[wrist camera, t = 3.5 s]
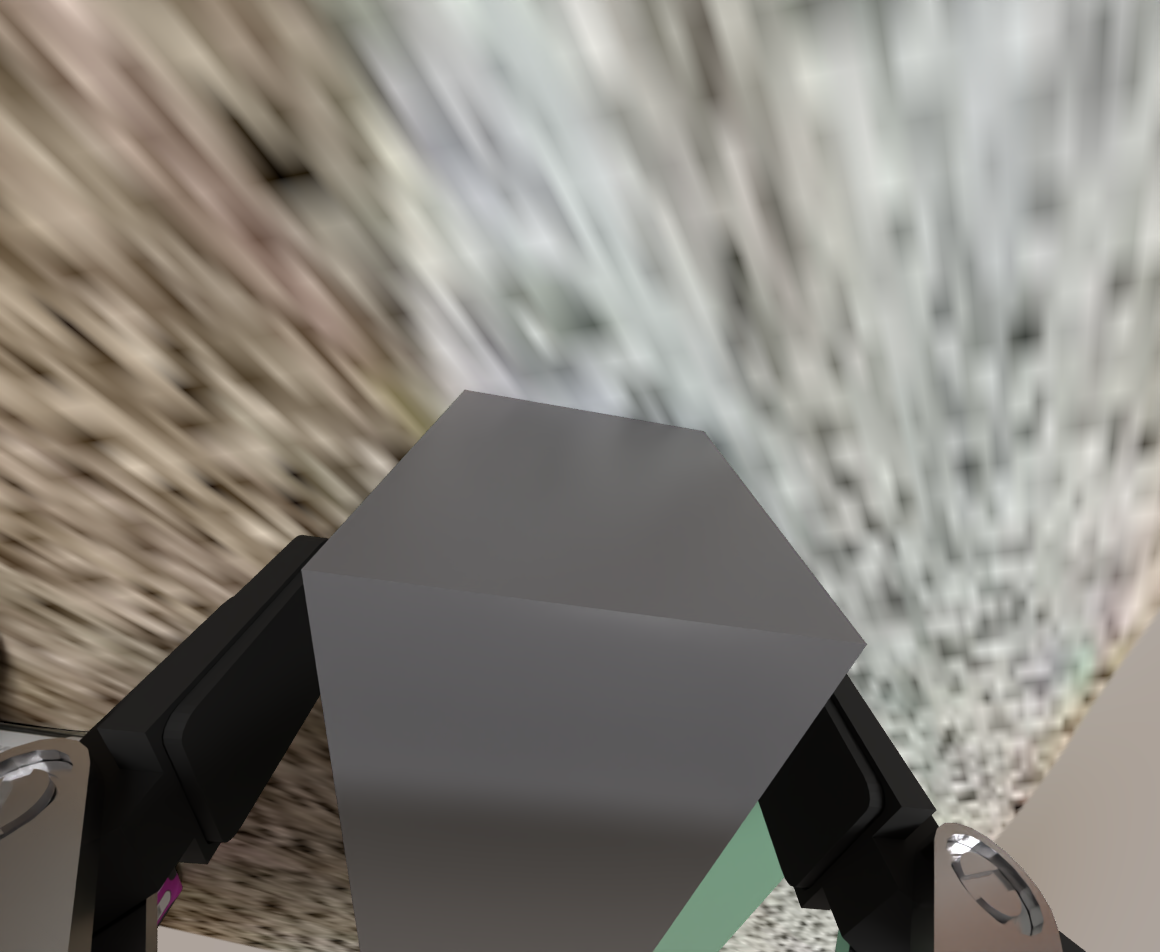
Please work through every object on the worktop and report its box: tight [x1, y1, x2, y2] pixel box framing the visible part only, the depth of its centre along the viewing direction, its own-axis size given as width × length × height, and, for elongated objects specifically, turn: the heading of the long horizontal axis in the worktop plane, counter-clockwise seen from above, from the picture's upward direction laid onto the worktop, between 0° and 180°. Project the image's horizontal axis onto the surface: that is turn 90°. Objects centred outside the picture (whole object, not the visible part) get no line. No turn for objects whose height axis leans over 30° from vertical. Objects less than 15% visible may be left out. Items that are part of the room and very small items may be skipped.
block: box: [301, 390, 867, 952], centre depth 8 cm, size 9×5×6 cm, turn 170°
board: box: [653, 801, 784, 952], centre depth 15 cm, size 16×14×4 cm
